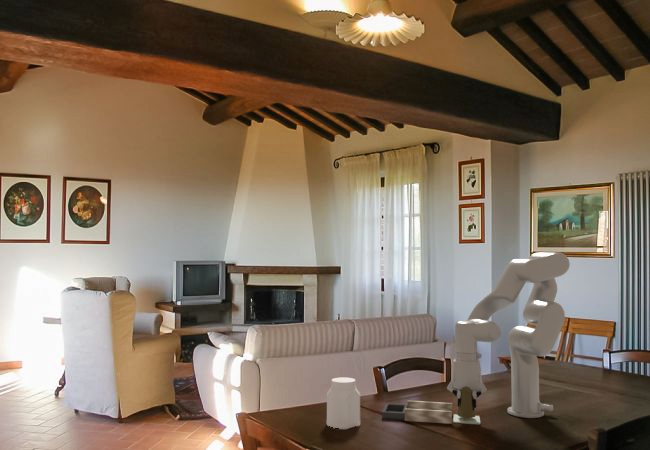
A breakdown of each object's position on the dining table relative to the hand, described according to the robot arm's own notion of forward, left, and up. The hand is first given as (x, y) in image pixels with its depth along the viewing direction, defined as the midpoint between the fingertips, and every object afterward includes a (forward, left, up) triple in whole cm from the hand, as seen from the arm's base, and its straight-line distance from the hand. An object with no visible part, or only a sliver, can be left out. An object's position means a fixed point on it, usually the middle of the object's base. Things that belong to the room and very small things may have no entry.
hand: (466, 408), depth 204 cm
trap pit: (+25, 0, -4) cm, 25 cm away
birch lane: (+13, 0, -4) cm, 14 cm away
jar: (+41, +15, -4) cm, 44 cm away
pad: (0, 0, -4) cm, 4 cm away
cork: (0, 0, -2) cm, 2 cm away
